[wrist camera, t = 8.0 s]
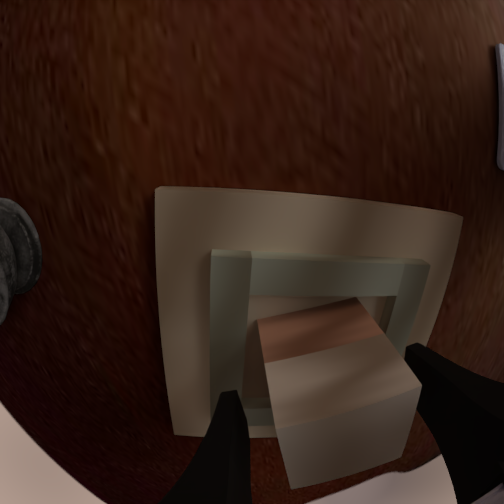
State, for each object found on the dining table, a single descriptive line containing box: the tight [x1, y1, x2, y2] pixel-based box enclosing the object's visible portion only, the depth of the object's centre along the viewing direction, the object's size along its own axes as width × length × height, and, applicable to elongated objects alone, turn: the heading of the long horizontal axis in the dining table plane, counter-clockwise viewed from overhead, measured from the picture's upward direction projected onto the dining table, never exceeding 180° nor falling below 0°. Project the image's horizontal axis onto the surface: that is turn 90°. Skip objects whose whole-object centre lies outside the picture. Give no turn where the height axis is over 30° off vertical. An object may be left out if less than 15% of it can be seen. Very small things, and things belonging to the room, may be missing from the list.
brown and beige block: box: [257, 297, 422, 489], centre depth 11 cm, size 4×4×6 cm
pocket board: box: [155, 186, 463, 438], centre depth 14 cm, size 14×14×2 cm
